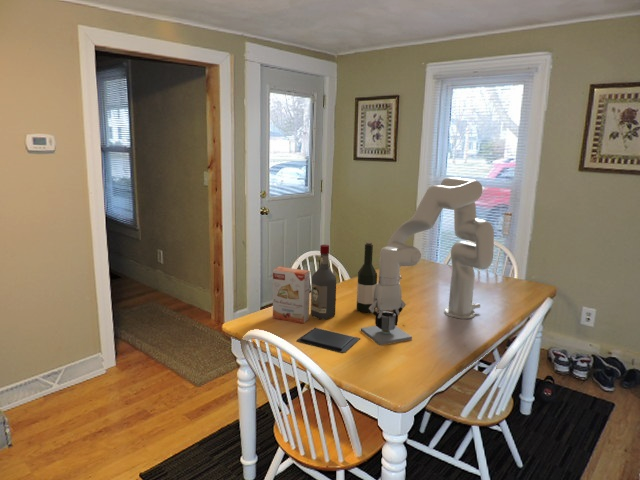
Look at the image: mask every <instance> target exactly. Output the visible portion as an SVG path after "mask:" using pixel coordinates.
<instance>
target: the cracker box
mask: <svg viewBox="0 0 640 480" xmlns="http://www.w3.org/2000/svg"><path fill="white" fill-rule="evenodd" d="M310 277H311V271H310V270H306V269H298V268H293V267H286V266H285V267H284V266H277V267H276V268H274V269H273V270H272V318H273V319H278V320H282V321H288V322H294V323H299V324H305V323H306V322H307V321H308V320H309V318H310V291H311V285H310V284H311V283H310V282H311V281H310V280H311V278H310Z"/></svg>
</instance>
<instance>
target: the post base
mask: <svg viewBox="0 0 640 480" xmlns="http://www.w3.org/2000/svg"><path fill="white" fill-rule="evenodd" d="M360 332H361V333H363V334H364V335H365V336H367V337H368V338H369V339H371V340H372V341H373V342H374V343H376V344H377V345H378V346H383V345H389V344H393V343H394V344H396V343H400V342H405V341H407V342H408V341H412V340H413V339H412V338H413V336H412V335H410V334H409V333H407V332H406V331H404V330H402V329H401V328H400V327H398V325H396V326H395V329H394V330H381V329H380V328H378V327H377V326H376V325H371V326H365V327H364V326H363V327H360Z"/></svg>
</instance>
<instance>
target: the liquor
mask: <svg viewBox="0 0 640 480" xmlns="http://www.w3.org/2000/svg"><path fill="white" fill-rule="evenodd" d="M319 252H320V253H319V254H320V257H319V258H320V261H319V263H320V264H319V267H318V269H317V270H316V271H315V272H314V273H313V274H312V275H311V278H310V280H311V281H310V282H311V283H310V284H311V285H310V291H311V292H310V315H311V317H313V318H315V319H318V320H322V321H323V320H325V321H326V320H328V319H332V318H334V317H335V316H336V302H337V277H336V275H335V274H334V272H333V271H332V270H331V269H330V266H329V265H330V264H329V258H330V257H329V255H330V245H329V244H321V245H320V251H319Z"/></svg>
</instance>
